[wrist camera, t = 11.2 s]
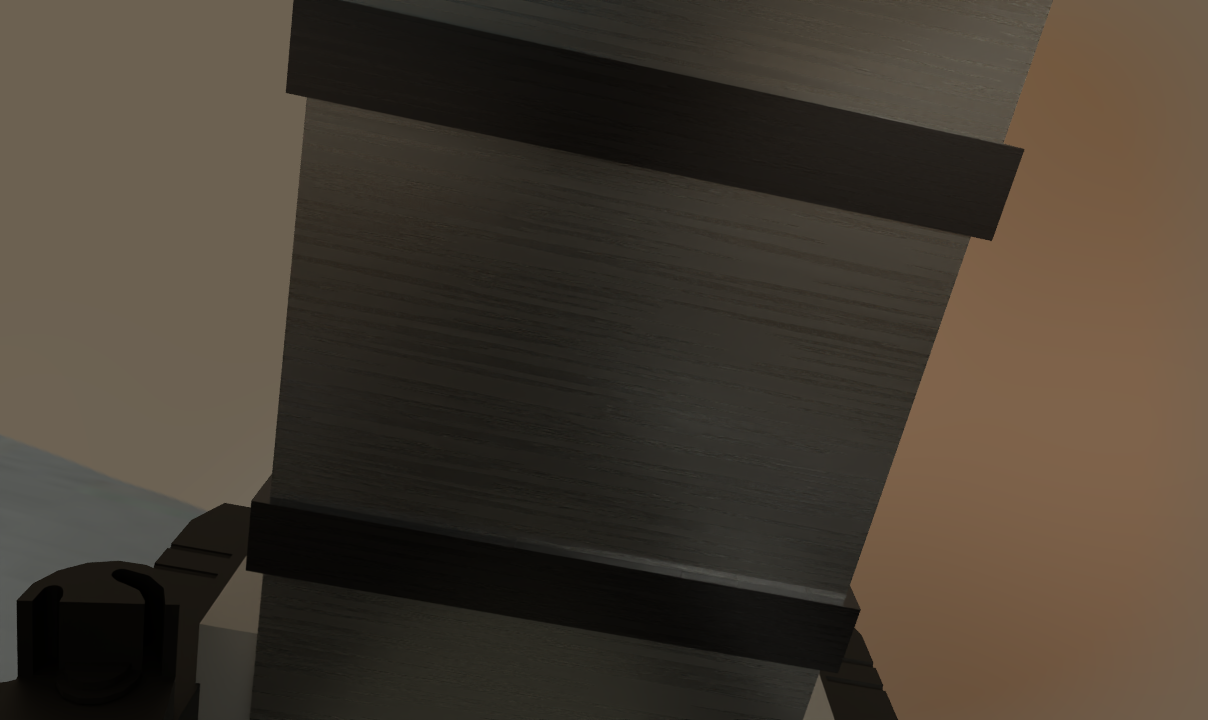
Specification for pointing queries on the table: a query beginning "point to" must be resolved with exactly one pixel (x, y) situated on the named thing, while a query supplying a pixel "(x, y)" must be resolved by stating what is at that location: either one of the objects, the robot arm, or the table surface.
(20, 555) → the table surface
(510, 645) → the column
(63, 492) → the table surface
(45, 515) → the table surface
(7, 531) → the table surface
